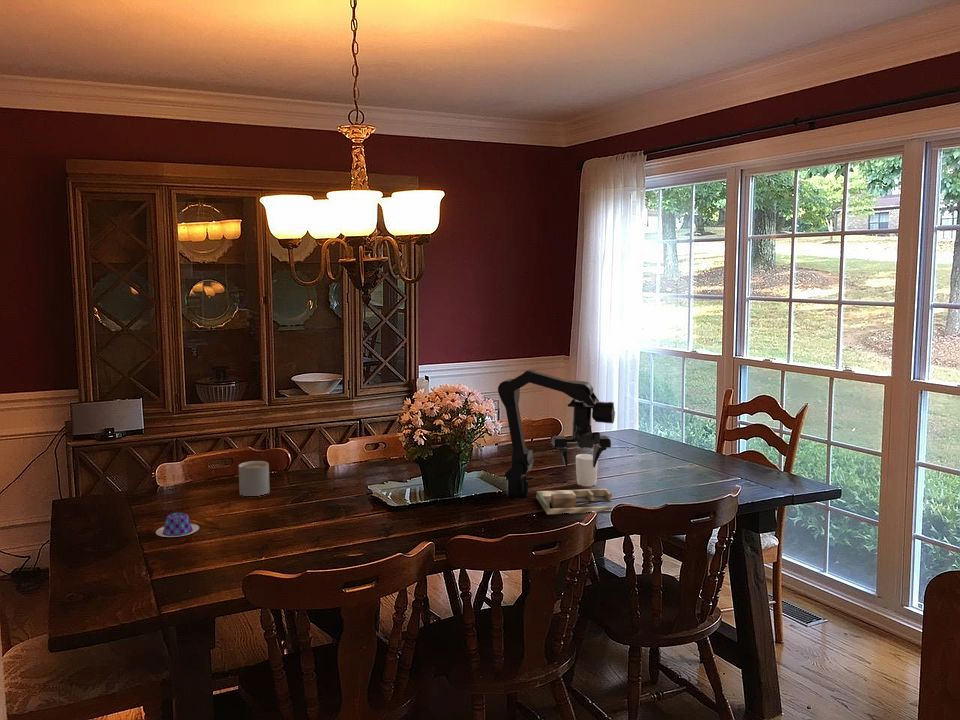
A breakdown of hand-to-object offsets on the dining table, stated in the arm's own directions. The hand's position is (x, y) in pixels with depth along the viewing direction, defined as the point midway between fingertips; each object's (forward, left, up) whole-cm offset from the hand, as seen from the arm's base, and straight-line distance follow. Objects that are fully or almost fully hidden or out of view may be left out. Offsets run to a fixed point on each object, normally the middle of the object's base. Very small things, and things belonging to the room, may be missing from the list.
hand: (580, 467), depth 261 cm
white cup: (+7, +19, -12) cm, 24 cm away
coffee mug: (-109, +25, -12) cm, 112 cm away
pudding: (-125, -14, -12) cm, 126 cm away
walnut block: (-7, -6, -12) cm, 15 cm away
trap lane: (-2, -4, -11) cm, 12 cm away
